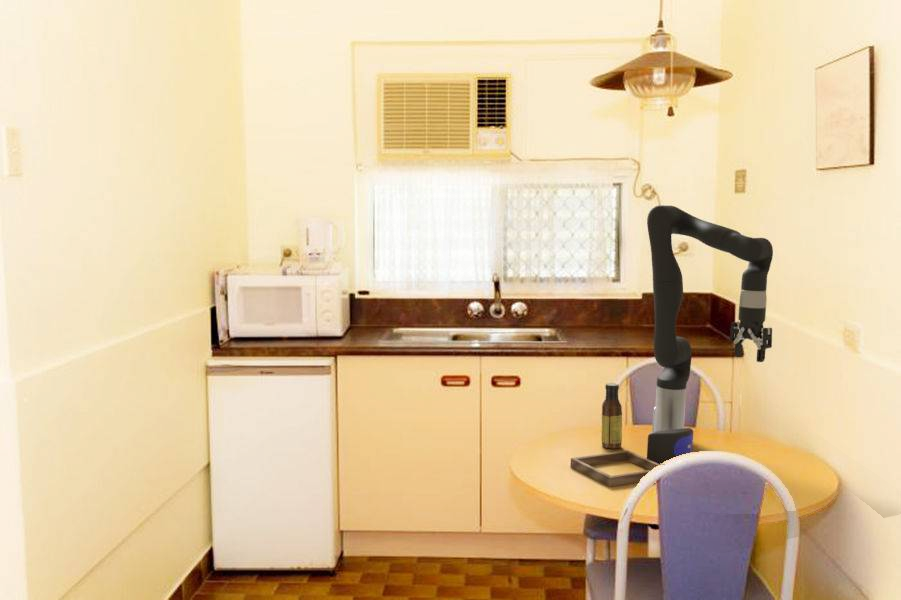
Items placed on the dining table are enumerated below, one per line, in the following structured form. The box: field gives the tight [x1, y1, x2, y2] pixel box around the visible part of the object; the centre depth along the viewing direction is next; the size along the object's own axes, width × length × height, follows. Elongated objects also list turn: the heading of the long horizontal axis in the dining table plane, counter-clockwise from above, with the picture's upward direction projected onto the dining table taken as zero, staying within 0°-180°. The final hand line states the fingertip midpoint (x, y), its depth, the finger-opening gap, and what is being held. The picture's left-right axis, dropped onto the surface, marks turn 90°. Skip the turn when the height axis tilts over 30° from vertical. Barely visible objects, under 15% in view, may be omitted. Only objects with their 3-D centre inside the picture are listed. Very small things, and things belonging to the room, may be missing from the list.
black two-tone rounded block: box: [646, 427, 694, 465], centre depth 248 cm, size 16×5×9 cm, turn 115°
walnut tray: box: [570, 450, 661, 488], centre depth 238 cm, size 18×20×2 cm
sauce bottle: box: [600, 382, 623, 450], centre depth 261 cm, size 7×6×20 cm
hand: (749, 359), depth 251 cm, fingers open, 8 cm apart
